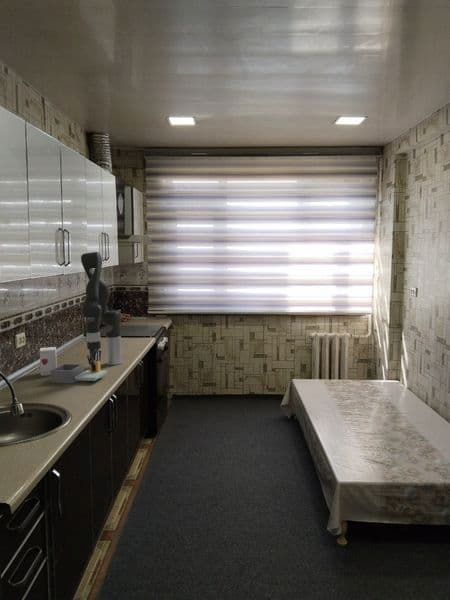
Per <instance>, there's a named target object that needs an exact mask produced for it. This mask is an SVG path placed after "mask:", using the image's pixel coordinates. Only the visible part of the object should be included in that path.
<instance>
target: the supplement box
mask: <svg viewBox="0 0 450 600" xmlns="http://www.w3.org/2000/svg"><path fill="white" fill-rule="evenodd" d="M57 360H58V358H57V347H56V346H53V347H51V346H49V347H40V349H39V367H40V368H39V369H40V376H41V377H43V376H51V370H52V369H55V368H57V367H58V361H57Z"/></svg>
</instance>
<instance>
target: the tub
mask: <svg viewBox="0 0 450 600" xmlns="http://www.w3.org/2000/svg"><path fill="white" fill-rule="evenodd" d="M83 372H85V366H84V364H81V363H64V364H61V365H59V366H57V368H55V369H52V370H51V375H50V377H51V378H50V379H51V383H52V384H74V383H76V382H77V381H79V380H78V379H75V377H76V376H78V375H79V374H81V373H83Z"/></svg>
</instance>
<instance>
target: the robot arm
mask: <svg viewBox="0 0 450 600" xmlns="http://www.w3.org/2000/svg"><path fill="white" fill-rule="evenodd" d="M80 260H81V265H82V267H83V268H82V269H83V270H84V272H85V274H86V275H87V279H88V282H87V284H86V286H85V300H84V303H83V306H82V310H81V315H82V316H83V317H84V318H94V320H91V321H88V322H86V325H85V326H86V349H87V350H89V355H86V357H87V362H88V365H90V364H91V366H92V371H96V365H95V364H96V361H100V362H101V357H102V356H101V355H102V350H100V349H102V344H101V332H100V321H101V322H102V323H103V325H104V326H107V327H108V326H109V327H110V326H111V327H112V329H111V330H109V331H106V332H105V349H106V364H107V365H108V366H117V365H121V364H122V363H123V361H122V359H123V358H122V357H123V356H122V355H123V354H122V336H121V335H122V334H121V333H122V315H121V313H120V311H118V310H109V309H108V306H107V304H108V302H109V299H110V295H111V293H110V289H109V286H108V284H107V282H106V281H105V279H103V278H102V277H101V273H102V268H103V257H102V254H101V253H100V252H99V251H93V252H87V253H86V252H85V253H82V254H81V256H80ZM94 303H97V304H94Z"/></svg>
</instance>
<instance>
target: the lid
mask: <svg viewBox="0 0 450 600" xmlns="http://www.w3.org/2000/svg"><path fill="white" fill-rule="evenodd" d="M95 365H96V371H92V366H91V364H89V369H87V370H84V372H83V373H81V374H79V375H78V376H76V377H75V379H78V380H77V381H89V382H95V381H97V380H98V379H101V378H102V377H103V376H105V374H107V373H108V370H101V360H100V361H96V364H95Z"/></svg>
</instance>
